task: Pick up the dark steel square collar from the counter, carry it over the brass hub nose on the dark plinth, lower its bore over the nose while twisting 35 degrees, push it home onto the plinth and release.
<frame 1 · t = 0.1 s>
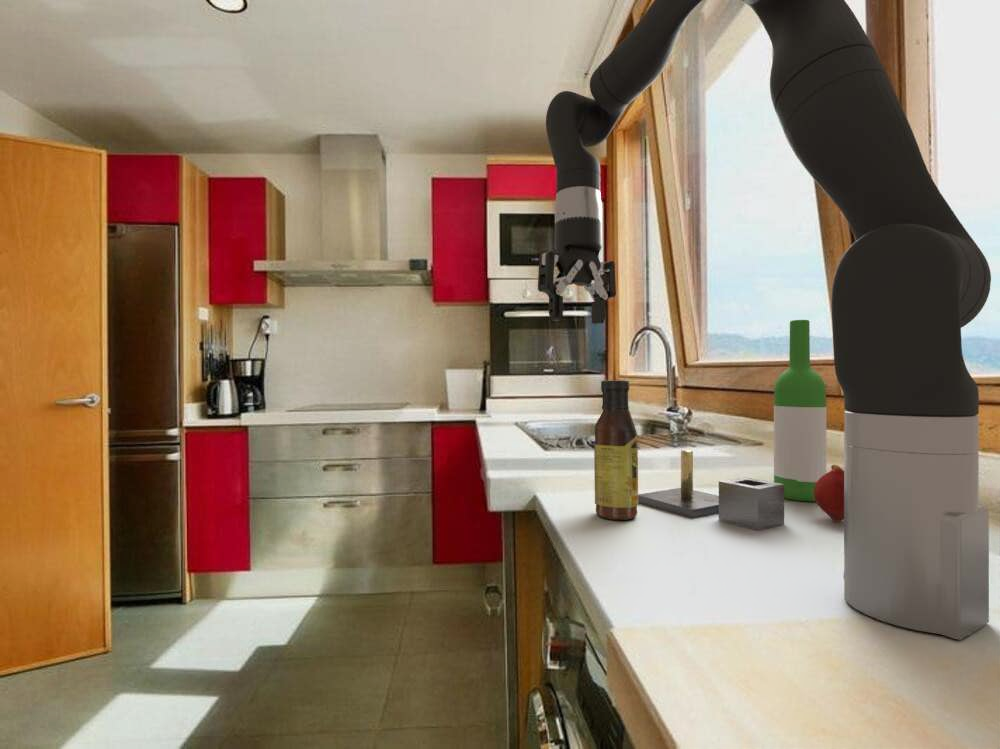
hand: (578, 322, 84), 29 cm above the countertop, fingers open, 8 cm apart
collar: (750, 521, 73), on the countertop
sauce bottle: (615, 517, 76), on the countertop
hub: (686, 505, 83), on the countertop
wine bottle: (799, 498, 88), on the countertop
onion: (837, 522, 74), on the countertop
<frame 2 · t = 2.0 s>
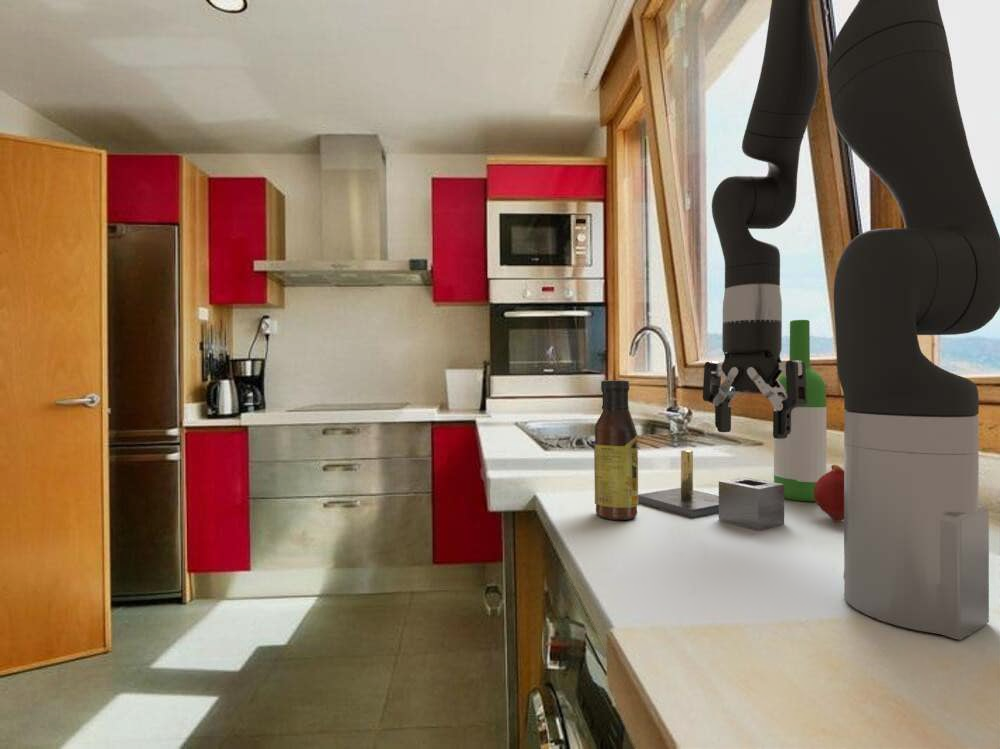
hand: (750, 434, 74), 12 cm above the countertop, fingers open, 8 cm apart
nothing on the countertop moved.
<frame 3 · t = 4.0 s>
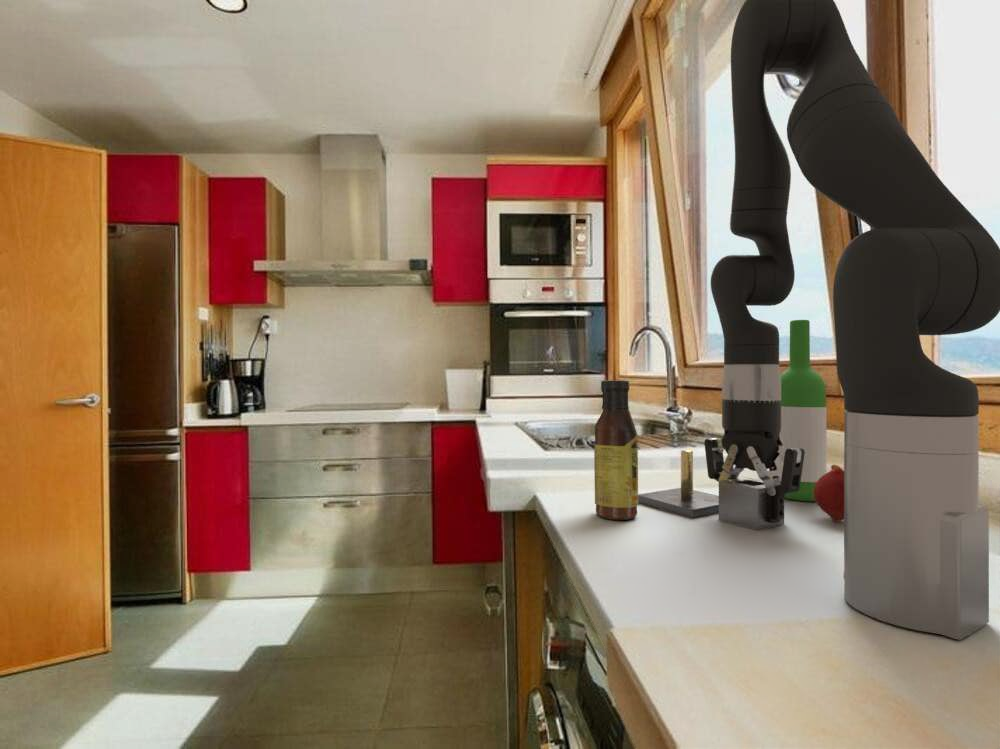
hand: (750, 516, 73), 1 cm above the countertop, fingers closed on collar, 6 cm apart
collar: (750, 521, 73), on the countertop, touching gripper
everything else where it was.
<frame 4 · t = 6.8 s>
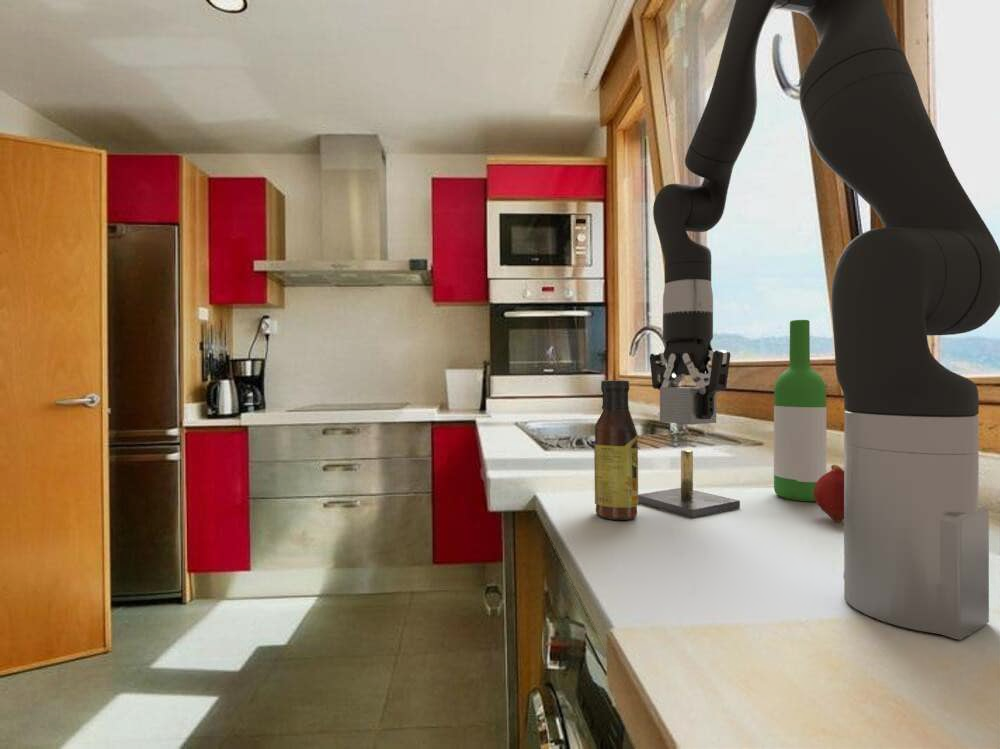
hand: (687, 417, 83), 14 cm above the countertop, fingers closed on collar, 6 cm apart
collar: (687, 422, 83), point 13 cm above the countertop, touching gripper
everything else where it was.
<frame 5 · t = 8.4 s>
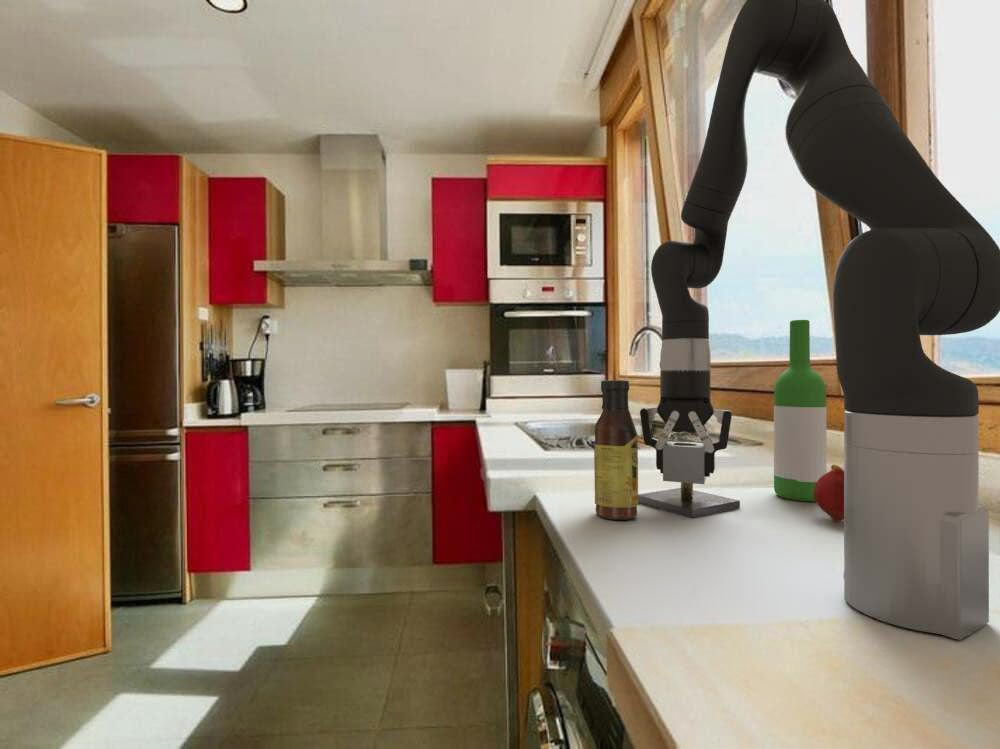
hand: (684, 473, 83), 5 cm above the countertop, fingers closed on collar, 6 cm apart
collar: (685, 479, 83), point 4 cm above the countertop, touching gripper
everything else where it was.
when the fingers open (3 cm above the countertop, at t = 9.7 s): collar stays where it is, resting on hub.
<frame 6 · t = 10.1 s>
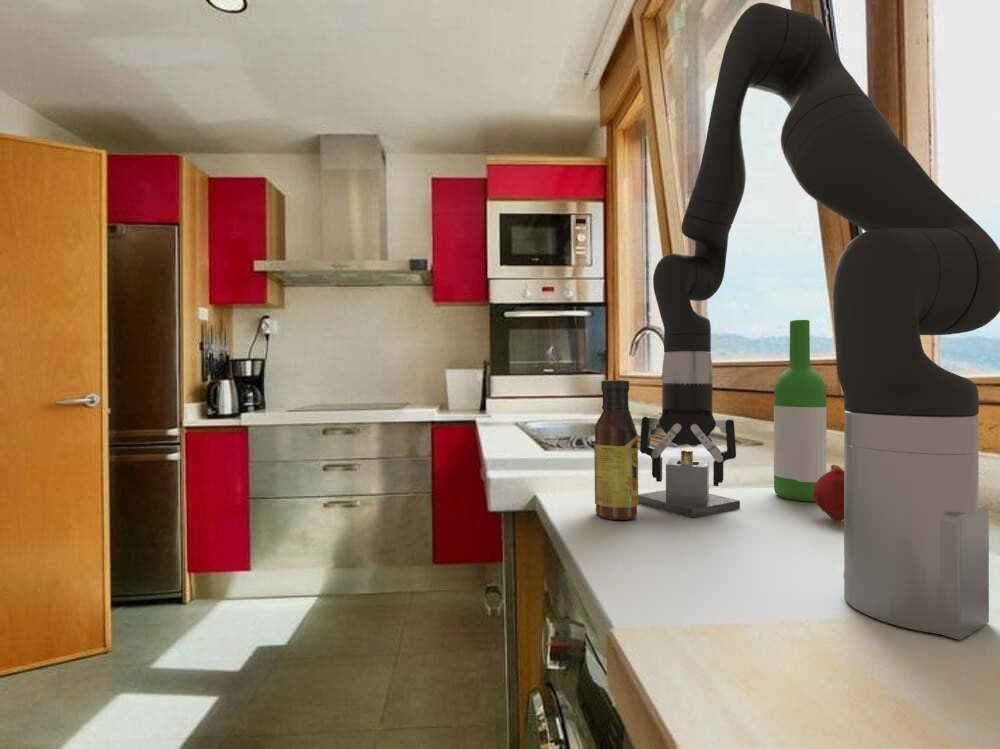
hand: (686, 483, 83), 3 cm above the countertop, fingers open, 8 cm apart
collar: (687, 497, 83), point 1 cm above the countertop, touching hub
everything else where it was.
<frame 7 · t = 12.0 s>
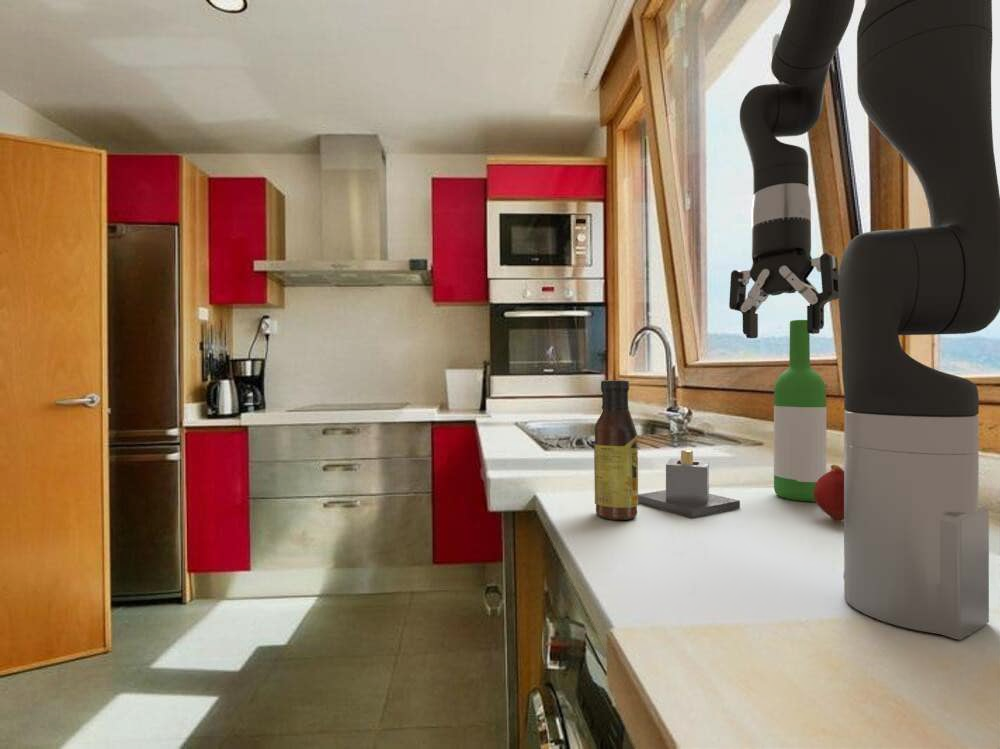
hand: (781, 335, 75), 26 cm above the countertop, fingers open, 8 cm apart
nothing on the countertop moved.
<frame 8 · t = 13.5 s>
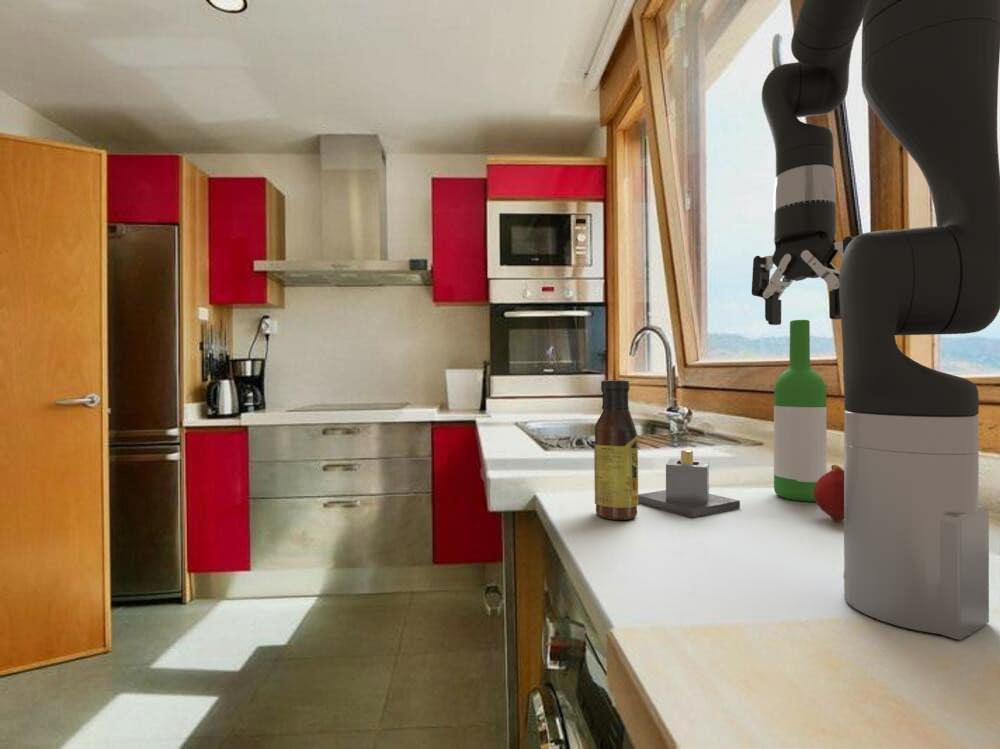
hand: (803, 322, 73), 28 cm above the countertop, fingers open, 8 cm apart
nothing on the countertop moved.
at the end: collar 0.1 cm off-centre on the hub, point 1.2 cm above the hub's base; collar tilted 0°; the gripper is holding nothing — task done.
